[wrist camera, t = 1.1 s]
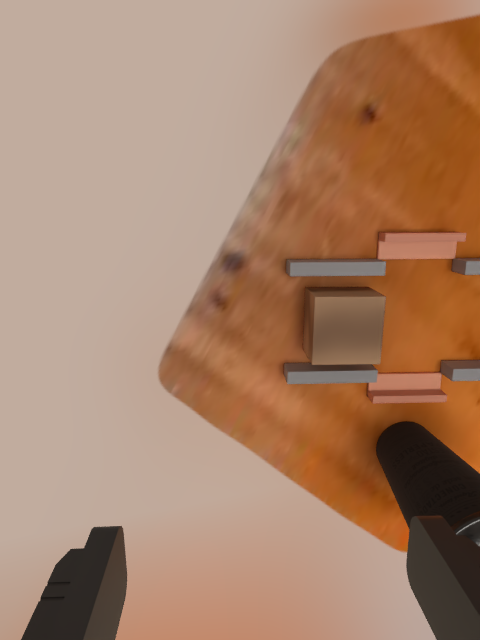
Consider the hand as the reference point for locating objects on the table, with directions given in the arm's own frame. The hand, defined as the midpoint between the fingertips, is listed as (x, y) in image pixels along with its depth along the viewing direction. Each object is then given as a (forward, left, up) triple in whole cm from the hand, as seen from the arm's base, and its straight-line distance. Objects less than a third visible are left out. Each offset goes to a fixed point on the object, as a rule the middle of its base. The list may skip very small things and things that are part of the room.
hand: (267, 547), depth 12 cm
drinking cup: (+11, +14, -24) cm, 30 cm away
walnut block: (0, +8, -24) cm, 25 cm away
